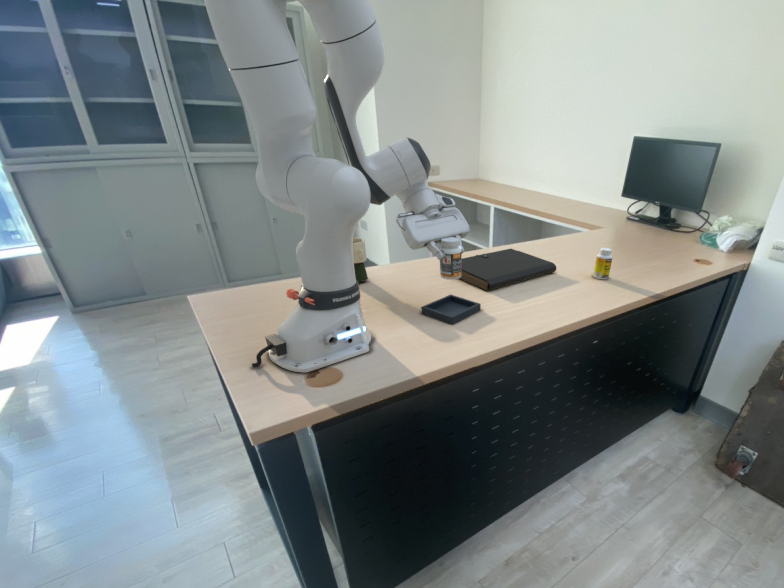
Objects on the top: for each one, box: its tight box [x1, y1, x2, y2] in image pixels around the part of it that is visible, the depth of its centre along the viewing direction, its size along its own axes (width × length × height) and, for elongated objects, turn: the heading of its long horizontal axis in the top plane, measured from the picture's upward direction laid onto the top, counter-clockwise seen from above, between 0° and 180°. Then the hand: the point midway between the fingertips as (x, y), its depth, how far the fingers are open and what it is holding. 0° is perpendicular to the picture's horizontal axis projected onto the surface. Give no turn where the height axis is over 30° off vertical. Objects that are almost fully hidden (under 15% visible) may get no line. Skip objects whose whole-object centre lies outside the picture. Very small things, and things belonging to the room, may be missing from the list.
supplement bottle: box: [592, 247, 613, 280], centre depth 145 cm, size 6×6×10 cm
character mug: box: [352, 237, 369, 283], centre depth 128 cm, size 11×7×13 cm, turn 46°
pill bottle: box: [439, 237, 463, 281], centre depth 106 cm, size 6×6×10 cm
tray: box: [420, 294, 482, 325], centre depth 114 cm, size 13×11×2 cm
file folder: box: [458, 248, 557, 292], centre depth 145 cm, size 33×4×24 cm
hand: (452, 255), depth 105 cm, fingers closed on pill bottle, 6 cm apart
